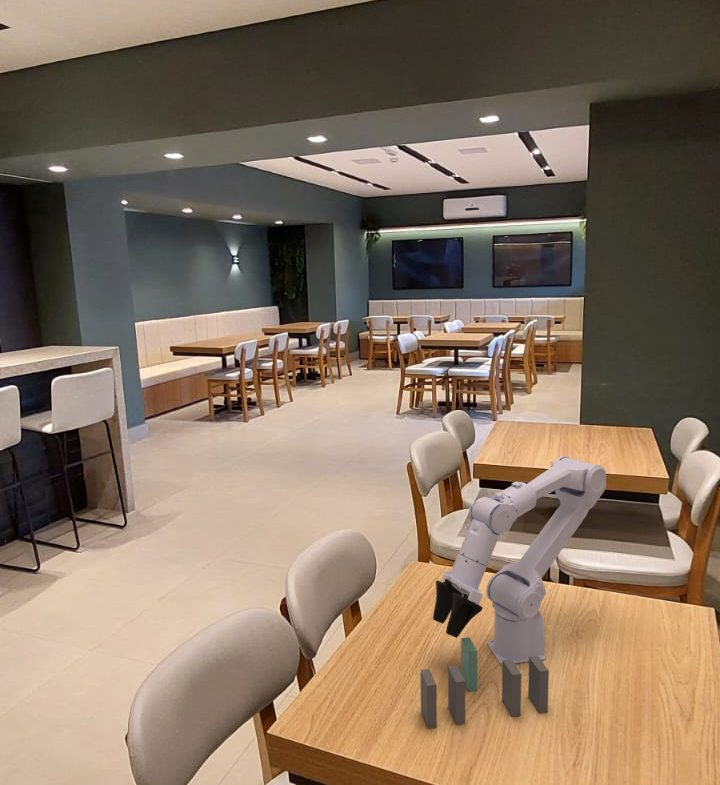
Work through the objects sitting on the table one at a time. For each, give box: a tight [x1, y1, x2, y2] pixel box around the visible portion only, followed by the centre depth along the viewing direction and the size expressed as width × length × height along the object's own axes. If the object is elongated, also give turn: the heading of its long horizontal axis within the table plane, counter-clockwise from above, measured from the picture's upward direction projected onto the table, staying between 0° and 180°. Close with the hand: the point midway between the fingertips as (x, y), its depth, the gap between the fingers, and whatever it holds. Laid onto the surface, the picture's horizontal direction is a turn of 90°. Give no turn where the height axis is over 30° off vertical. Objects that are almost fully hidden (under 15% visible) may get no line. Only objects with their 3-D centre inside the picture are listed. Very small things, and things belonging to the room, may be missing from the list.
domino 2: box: [447, 665, 466, 726], centre depth 106 cm, size 2×4×8 cm, turn 9°
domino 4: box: [527, 656, 550, 714], centre depth 108 cm, size 2×4×8 cm, turn 9°
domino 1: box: [420, 668, 438, 730], centre depth 105 cm, size 2×4×8 cm, turn 9°
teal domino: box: [460, 636, 478, 692], centre depth 114 cm, size 2×4×8 cm, turn 9°
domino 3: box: [501, 659, 522, 718], centre depth 107 cm, size 2×4×8 cm, turn 9°
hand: (444, 628), depth 114 cm, fingers open, 7 cm apart
